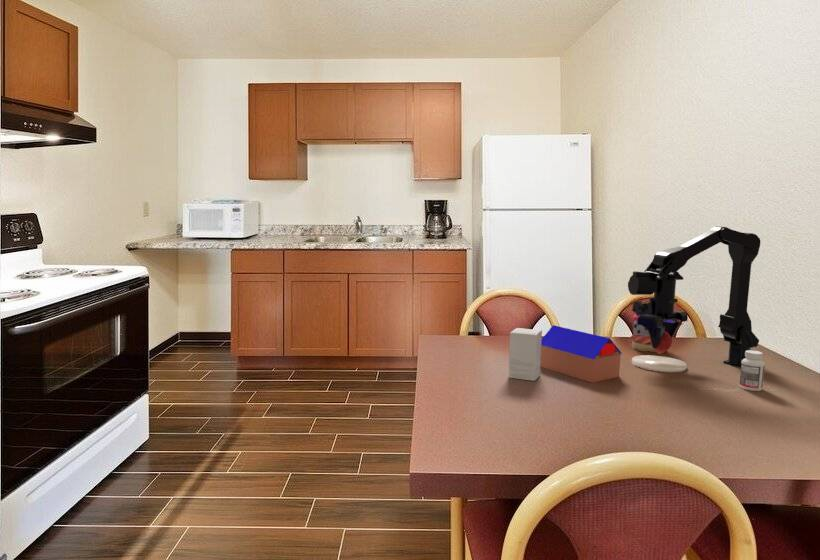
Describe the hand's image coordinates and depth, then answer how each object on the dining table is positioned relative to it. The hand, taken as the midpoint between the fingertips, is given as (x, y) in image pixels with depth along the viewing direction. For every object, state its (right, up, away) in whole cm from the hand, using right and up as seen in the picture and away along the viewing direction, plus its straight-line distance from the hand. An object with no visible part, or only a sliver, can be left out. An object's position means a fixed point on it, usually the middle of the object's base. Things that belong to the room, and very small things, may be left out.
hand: (660, 346), depth 180 cm
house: (-27, -6, -8) cm, 29 cm away
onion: (0, -2, 0) cm, 2 cm away
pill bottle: (+15, -9, -20) cm, 27 cm away
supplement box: (-43, -7, -15) cm, 46 cm away
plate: (0, -6, +1) cm, 6 cm away
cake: (+5, -3, +23) cm, 23 cm away
